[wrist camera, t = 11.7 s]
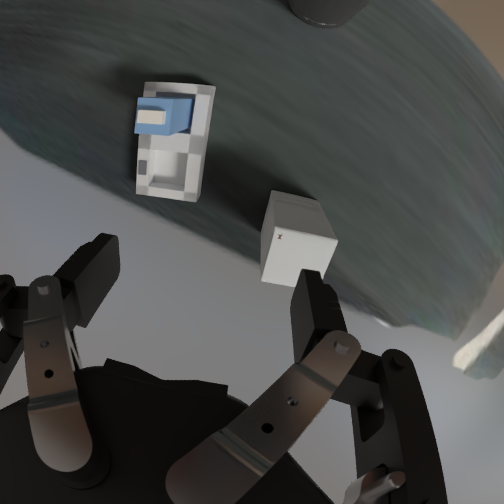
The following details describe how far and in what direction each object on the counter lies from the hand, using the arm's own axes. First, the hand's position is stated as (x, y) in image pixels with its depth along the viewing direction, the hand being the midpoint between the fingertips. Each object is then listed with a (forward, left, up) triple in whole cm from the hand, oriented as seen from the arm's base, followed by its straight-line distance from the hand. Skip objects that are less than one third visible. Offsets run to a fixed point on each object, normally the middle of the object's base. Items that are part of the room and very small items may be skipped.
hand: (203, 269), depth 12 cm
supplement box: (+9, +8, -30) cm, 33 cm away
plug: (-4, -10, -30) cm, 31 cm away
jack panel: (0, -10, -30) cm, 32 cm away
